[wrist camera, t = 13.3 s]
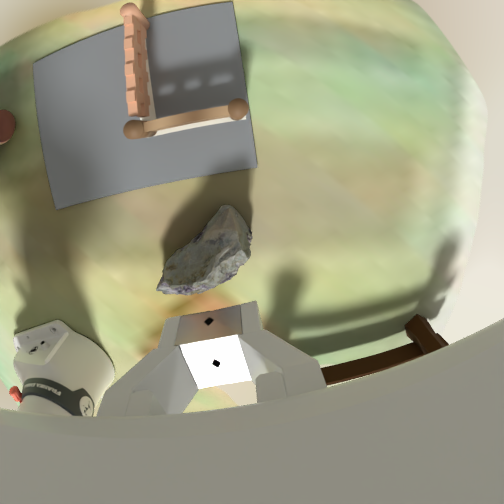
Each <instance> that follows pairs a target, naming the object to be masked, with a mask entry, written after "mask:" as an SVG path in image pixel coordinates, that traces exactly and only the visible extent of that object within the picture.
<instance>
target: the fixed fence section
mask: <svg viewBox="0 0 504 504" xmlns="http://www.w3.org/2000/svg"><path fill="white" fill-rule="evenodd" d="M248 111H249V105H248V103H247V102H246V101H245V100H244V99H241V98H236V99H233V100H232V101H231V102H230V103H229V105H226V106H220V107H214V108H208V109H202V110H197V111H192V112H187V113H182V114H177V115H172V116H168V117H163V118H159V119H155V120H151V121H143V120H130V121H128V122H127V123H126V124H125V125H124V128H123V133H124V135H125V137H126V138H128V139H140V138H148V137H153V136H154V135H155V134H156V133H157V131H159V130H164V129H168V128H173V127H178V126H183V125H187V124H192V123H198V122H204V121H209V120H214V119H220V118H227V117H230V118H231V119H232V120H235V121H238V120H241V119H242V118H243V117H244V116H246V114H247V113H248Z"/></svg>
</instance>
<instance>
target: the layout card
mask: <svg viewBox="0 0 504 504" xmlns="http://www.w3.org/2000/svg"><path fill="white" fill-rule="evenodd" d="M146 19H147V20H148V21H149V23H150V27H149V28H148V30H146V31H147V38H145V49H146V50H147V60H146V72H148V79H149V82H147V90H148V95H149V96H150V105H149V115H150V116H147V117H142V118H140V117H137V116H134V117H131V116H129V115H128V103H127V100H126V92H127V89H126V76H125V50H124V39H125V35H124V25H123V26H120V27H117V28H114V29H111V30H108V31H105V32H102V33H100V34H97V35H94V36H92V37H89V38H87V39H84V40H82V41H79V42H77V43H75V44H72V45H70V46H68V47H66V48H63V49H61V50H59V51H57V52H55V53H53V54H51V55H49V56H47V57H45V58H43V59H41V60H39V61H37V62H35V63H33V75H34V89H35V100H36V109H37V117H38V125H39V132H40V138H41V144H42V150H43V155H44V160H45V165H46V170H47V175H48V179H49V184H50V188H51V192H52V196H53V200H54V204H55V208H56V210H58V209H61V208H65V207H68V206H72V205H75V204H79V203H83V202H87V201H91V200H94V199H98V198H102V197H106V196H110V195H115V194H119V193H123V192H127V191H132V190H136V189H140V188H145V187H150V186H154V185H159V184H164V183H169V182H174V181H179V180H184V179H190V178H195V177H201V176H206V175H212V174H218V173H224V172H230V171H237V170H243V169H250V168H257V161H256V153H255V146H254V139H253V132H252V125H251V118H250V112H249V111H248V113H247V114H246V116H244V117H243V118H242V119H241V120H238V121H235V120H232V119H231V118H230V117H227V118H220V119H214V120H209V121H204V122H198V123H192V124H187V125H183V126H178V127H173V128H168V129H164V130H159V131H157V133H156V134H155V135H154V136H153V137H148V138H140V139H128V138H126V137H125V135H124V133H123V128H124V125H125V124H126V123H127V122H128V121H130V120H143V121H151V120H155V119H159V118H163V117H168V116H172V115H177V114H182V113H187V112H192V111H197V110H202V109H208V108H214V107H220V106H226V105H229V103H230V102H231V101H232V100H233V99H236V98H241V99H244V100H245V101H246V102H247V103H248V98H247V91H246V85H245V78H244V72H243V65H242V59H241V52H240V46H239V40H238V33H237V27H236V21H235V15H234V9H233V3H232V2H227V3H219V4H212V5H206V6H200V7H194V8H189V9H184V10H179V11H175V12H170V13H166V14H162V15H158V16H154V17H150V18H146Z"/></svg>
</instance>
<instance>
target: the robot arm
mask: <svg viewBox="0 0 504 504" xmlns="http://www.w3.org/2000/svg"><path fill="white" fill-rule="evenodd" d="M13 341H14V346H15V349H16V351H17V354H16V356H15V357H14V363H13V364H14V369H15V371H16V374H17V376H18V378H19V380H20V382H21V383H22V385H23V390H22V393H21V392H20V391H19V389H18V387H17V386H13V387H12V388H11V389H10V391H9V392H10V393H9V394H10V395H11V396H12V397H13V398H14V400H15V401H17V402H18V401H19V402H20V403H21V404H20V406H19V408H18V410H17V411H16V410H9V409H2V408H0V504H504V318H503V319H501V320H499V321H497V322H496V323H494V324H492V325H490V326H488V327H486V328H484V329H482V330H480V331H478V332H476V333H474V334H472V335H470V336H468V337H466V338H464V339H461V340H459V341H457V342H455V343H453V344H450V345H448V346H446V347H443V348H441V349H439V350H436V351H434V352H431V353H429V354H427V355H424V356H422V357H419V358H416V359H414V360H411V361H409V362H406V363H403V364H401V365H398V366H395V367H392V368H389V369H386V370H384V371H381V372H378V373H375V374H372V375H369V376H366V377H362V378H359V379H356V380H352V381H349V382H346V383H342V384H339V385H335V386H331V387H328V388H327V385H326V382H325V380H324V377H323V374H322V371H321V368H320V365H319V363H318V360H316V359H314V358H312V357H311V356H309V355H307V354H306V353H304V352H302V351H301V350H299V349H297V348H296V347H294V346H292V345H291V344H289V343H287V342H286V341H284V340H282V339H281V338H279V337H277V336H276V335H274V334H272V333H271V332H269V331H268V330H263V325H262V321H261V317H260V313H259V308H258V304H257V301H252V302H248V303H244V304H241V305H236V306H231V307H227V308H223V309H218V310H214V311H206V312H200V313H194V314H188V315H182V316H176V317H171V318H167V319H166V320H165V324H164V327H163V331H162V334H161V338H160V341H159V345H158V349H153V350H152V351H151V352H150V353H149V354H147V355H146V356H145V357H144V358H143V359H142V360H141V361H139V362H138V363H137V364H136V365H135V366H134V367H133V368H131V369H130V370H129V371H128V372H127V373H126V374H125V375H124V376H122V377H121V378H120V379H119V380H118V381H117V382H116V383H114V384H113V385H112V386H111V387H110V388H109V389H108V390H107V388H108V387H109V386H110V385H111V384H112V382H113V380H114V377H115V371H114V367H113V364H112V362H111V360H110V359H109V357H108V356H107V355H106V353H105V352H104V351H103V350H102V349H101V348H100V347H99V346H98V345H97V344H95V343H94V342H93V341H91V340H90V339H88V338H86V337H84V336H82V335H80V334H78V333H76V332H74V331H73V330H72V329H71V328H69V327H68V326H67V325H66V324H65V323H64V322H62V321H60V320H55V321H52V322H49V323H46V324H43V325H40V326H37V327H34V328H31V329H29V330H26V331H23V332H20V333H17V334H15V336H14V338H13ZM245 380H251V381H252V382H253V383H254V384H255V385H256V392H257V403H255V404H250V405H243V406H237V407H230V408H224V409H216V410H209V411H200V412H191V413H183V411H184V410H185V408H186V407H187V406H188V404H189V403H190V401H191V400H192V398H193V397H194V396H195V394H196V393H197V391H198V390H199V388H201V387H207V386H213V385H219V384H224V383H232V382H239V381H245ZM103 395H104V396H103ZM102 397H103V399H102ZM100 399H102V402H101V404H100V407H99V410H98V413H97V416H96V417H93V413H94V410H95V408H96V406H97V405H98V403H99V401H100Z"/></svg>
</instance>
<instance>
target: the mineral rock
mask: <svg viewBox="0 0 504 504" xmlns="http://www.w3.org/2000/svg"><path fill="white" fill-rule="evenodd" d="M251 239H252V232H251V230H250V229H249V227H248V226H247V225H246V223H245V221H244V219H243V217H242V216H241V215H240V214H239V213H238V211H237V210H236V209H235V208H234V207H232V206H230V205H222V206H221V207H220V208H219V210H218V212H217V213H216V214H215V216H214V217H213V218H211V220H210V221H209V222H208V224H207V225H206V226H205V227H204V229H203V231H202V232H201V233H199V234H198V235H197V236H196V237H195V238H193V239H192V240H191V242H190V243H189V244H187V245H186V246H184V247H183V248H181V249H178V250H177V251H176V252H175V253H174V254H173V255H172V256H171V257H170V258H169V259H168V260H167V262H166V264H165V267H164V269H163V271H162V272H163V275H162V277H161V280H160V282H159V283H158V285H157V289H156V291H162V292H163V293H164V294H177V295H178V294H183V295H192V294H194V293H198V294H199V293H202V292H204V291H207V290H209V289H211V288H214V287H216V286H217V285H219V284H221V283H224V282H226V281H228V280H230V279H231V278H232V277H233V276H235V275H236V274H237V271H238V269H239V267H240V266H241V265H244V263H245V262H246V261H247V260H248V259H249V258H250V255H251V251H250V245H251V244H250V242H251Z"/></svg>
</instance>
